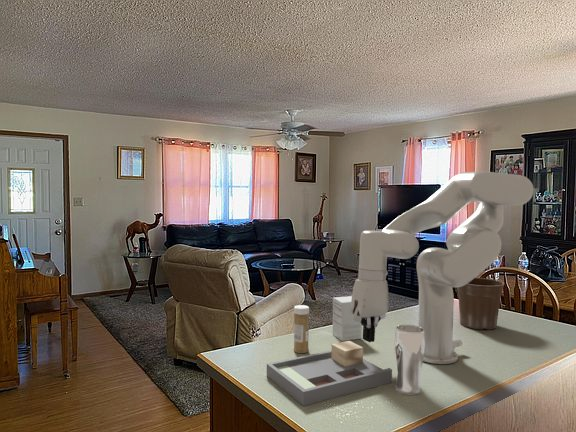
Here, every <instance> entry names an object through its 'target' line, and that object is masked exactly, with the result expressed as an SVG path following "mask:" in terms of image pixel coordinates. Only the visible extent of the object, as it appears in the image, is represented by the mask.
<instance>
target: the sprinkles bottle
mask: <svg viewBox="0 0 576 432" xmlns="http://www.w3.org/2000/svg"><path fill="white" fill-rule="evenodd" d="M293 313H294V314H293V315H294V316H293V317H294V319H293V344H294V345H293V347H294V348H293V351H294V352H295V353H296V354H306V353H308V352H309V349H310V348H309V340H310V339H309V334H310V333H309V330H310V329H309V328H310V327H309V315H310V306H308V305H305V304H299V305H294V307H293Z"/></svg>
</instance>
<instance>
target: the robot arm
mask: <svg viewBox="0 0 576 432" xmlns="http://www.w3.org/2000/svg"><path fill="white" fill-rule="evenodd" d="M534 189H535V187H534V185H533V182H532V181H531V180H530V179H529V178H528V177H526V176H524V175H522V174H513V173H504V172H503V173H502V172H493V171H485V170H484V171H483V170H482V171H481V170H479V171H465V172H460V173H457V174H455V175H454V176H453V177H451V178H450V179H448V181H447V182H446V183H444V185H442V186H441V187H440V188H439V189H438V190H436V191H435V192H434V193H433V194H432V195H431V196H429V197H428V198H427V199H426V200H424V201H423V202H421V203H419V204H418V205H416V206H413V207H412V208H410V209H409V210H406V211H405V212H403V213H401V215H398V216H397V217H396V218H395V219H393V220H392V221H391V222H390V223H389V224H387V225H386V226H385V227H384V228H383V229H382V230H363V231H362V232H361V234H360V237H359V239H360V240H359V255H358V256H359V259H358V277H357V278H356V279H355V281H354V284H353V288H352V294H351V296H352V300H351V313H352V314H354V317H353V320H355V321H357V322H360V323H361V325H362V340H363V341H366V342H368V343H374V342H375V338H376V328H377V327H378V323H379V322H380V321H381V320H383V319H385V318H386V317H387V316H386V314H387V313H388V310H389V287H388V281H387V280H386V279H387V276H388V274H389V272H388V271H389V270H387V262H388V258H395V259H398V260H399V259H402V260H408V259H411V258H412V257H414V256H415V255H417V253H418V252H419V248H420V244H419V240H418V239H417V237H416V236H415V235H416V234H418V233H420V232H423V231H426V230H429V229H434V228H438V227H440V226H443V225H446V224H447V223H448V222H449V221H450V220H451V219H453V218H454V217H455V216H456V215H457V214H458V213H459V212H460V211H462V210H463V209H464V208H465V207H466V206H467V205H469V204H471V203H472V202H476V203H478V204H477V207H476V210H475V211H474V212H473V214H470V216H469V217H468V218H467V219H465V220H464V221H463V222H462V223H461V224H460V225H458V226H457V227H456V228H455V229H453V230H452V231H451V232H450V233H449V235H448V236H447V238H446V243H445V244H446V247H447V248H443V247H428V248H426V249H424V250H422V252H420V254H419V255H418V257H417V259H416V272H417V273H416V274H417V280H418V316H417V317H418V319H417V321H418V322H417V323H418V324H417V326H420V327H422V328H423V329H424V337H425V352H424V359H423V363H424V362H426V363H429V364H435V365H449V364H453V363H456V362H457V361H458V360H459V354H458V353H457V352H456V351H455V349H456V348H458V347H459V348H460V347H462V346H463V341H462V340H461V339H455V340H454V337H453V336H454V332H453V331H454V305H455V303H454V302H455V300H454V299H455V298H454V297H455V296H454V290H453V288H457V287H462V286H464V285H466V284H468V283H469V282H470V281H472V280H473V279H474V278H477V277H478V276H479V275H480V274H481V273H482V272H483V271H485V270H486V269H487V268H488V267H489V266H490V265H492V263H494V262H495V261H496V260H497V258H498V257H499V255H500V253H501V250H502V238H501V237H500V234H498V232H499V231H500V230H501V229H502V227H503V225H504V206H522V205H525V204H527V203H528V202H529V201H530V200H531V199H532V198H533V196H534V195H533V194H534V192H535V191H534Z"/></svg>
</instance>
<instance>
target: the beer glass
mask: <svg viewBox="0 0 576 432" xmlns="http://www.w3.org/2000/svg"><path fill="white" fill-rule="evenodd" d="M394 333H395V335H394V355H395V362H396V371H397V375H396V376H397V377H396V383H395V390H396V391H397V392H398V393H400V394H402V395H406V396H418V395H420V394H422V391H423V389H422V382H421V372H422V367H423V363H424V361H423V359H424V352H425V337H424V329H423V328H422V327H420V326H418V325H417V324H416V325H415V324H406V323H405V324H398V325H396V326H395V332H394Z"/></svg>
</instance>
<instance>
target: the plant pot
mask: <svg viewBox="0 0 576 432" xmlns="http://www.w3.org/2000/svg"><path fill="white" fill-rule="evenodd" d="M504 286H505V282H503V281H501V280H497V279H492V278H491V279H490V278H484V277H475V278H474V279H473V280H472V281H470V282H469V283H468V284H466V285H464V286H462V287H456V291H457V295H458V309H459V323H460V324H461V325H462V326H463V327H466V328H469V329H472V330H473V329H474V330H484V329H486V330H488V331H489V330H495V329H497V327H498V326H497V325H498V319H499V318H498V315H499V309H500V304H501V296H502V295H503V287H504Z"/></svg>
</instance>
